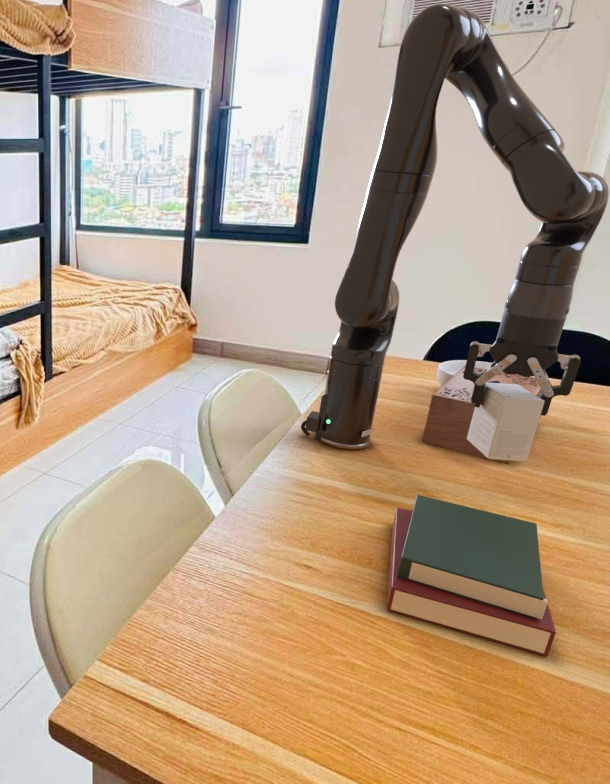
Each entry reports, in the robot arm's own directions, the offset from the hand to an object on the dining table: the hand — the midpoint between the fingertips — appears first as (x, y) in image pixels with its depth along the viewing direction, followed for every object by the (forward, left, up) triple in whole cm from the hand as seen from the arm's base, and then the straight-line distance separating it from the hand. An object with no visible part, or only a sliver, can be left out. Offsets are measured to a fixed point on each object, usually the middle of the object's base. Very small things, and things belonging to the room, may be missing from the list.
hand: (506, 411), depth 101 cm
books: (-2, -31, -15) cm, 34 cm away
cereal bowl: (-4, +52, -15) cm, 54 cm away
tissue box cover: (-2, +29, -15) cm, 33 cm away
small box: (0, 0, -7) cm, 7 cm away
